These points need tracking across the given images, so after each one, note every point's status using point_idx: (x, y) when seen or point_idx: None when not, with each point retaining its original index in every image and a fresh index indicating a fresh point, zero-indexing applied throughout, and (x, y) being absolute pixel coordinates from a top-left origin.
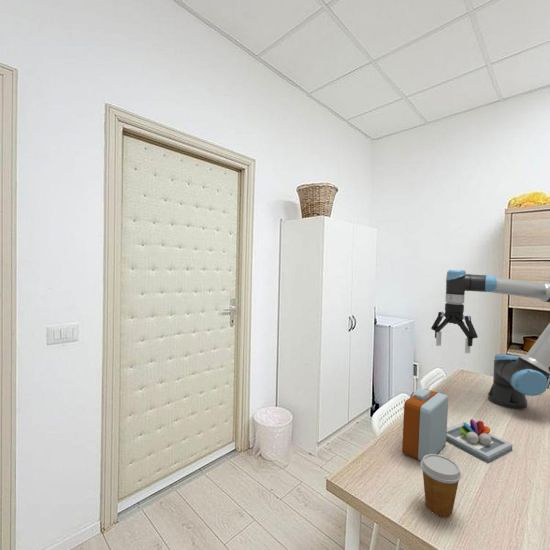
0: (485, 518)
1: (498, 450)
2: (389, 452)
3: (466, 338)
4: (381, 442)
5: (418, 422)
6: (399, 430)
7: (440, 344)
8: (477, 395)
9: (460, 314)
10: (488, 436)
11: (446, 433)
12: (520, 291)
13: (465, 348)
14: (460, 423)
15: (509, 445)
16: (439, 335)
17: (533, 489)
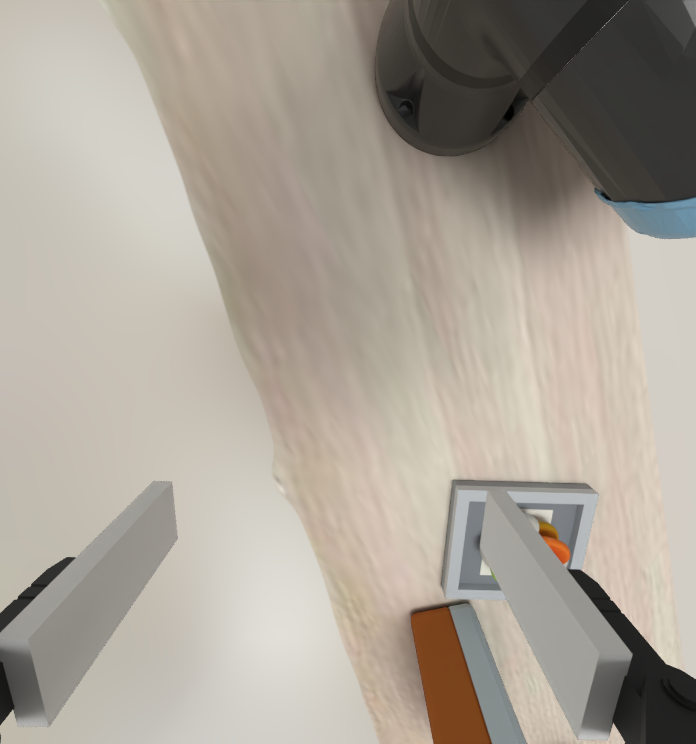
0: (613, 724)
1: (582, 556)
2: (415, 717)
3: (588, 727)
4: (379, 705)
5: None
6: (365, 638)
7: (166, 494)
8: (338, 122)
9: None
10: (567, 564)
11: (482, 631)
12: None
13: (505, 586)
14: (456, 507)
15: (595, 508)
16: (88, 624)
17: (655, 596)
